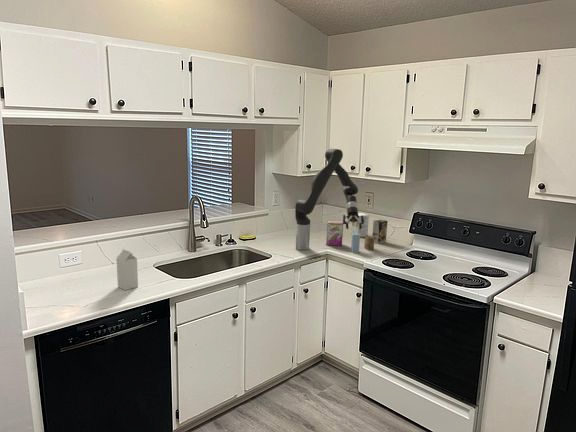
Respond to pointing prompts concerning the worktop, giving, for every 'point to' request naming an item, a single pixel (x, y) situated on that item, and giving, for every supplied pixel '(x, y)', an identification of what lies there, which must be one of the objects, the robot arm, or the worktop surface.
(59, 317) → the worktop surface
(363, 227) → the supplement box
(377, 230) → the coffee box
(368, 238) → the walnut block
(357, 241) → the slate-blue block
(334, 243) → the candy bar box
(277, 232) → the worktop surface
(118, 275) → the milk carton
